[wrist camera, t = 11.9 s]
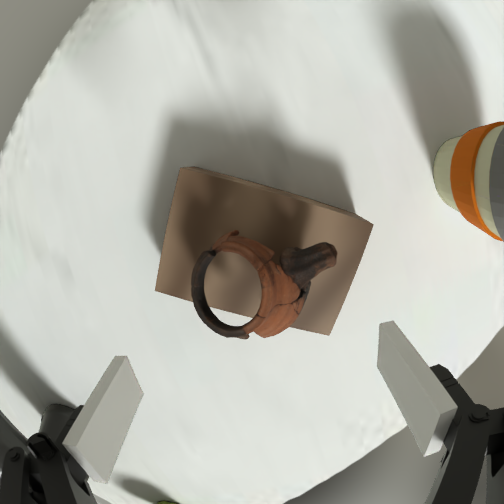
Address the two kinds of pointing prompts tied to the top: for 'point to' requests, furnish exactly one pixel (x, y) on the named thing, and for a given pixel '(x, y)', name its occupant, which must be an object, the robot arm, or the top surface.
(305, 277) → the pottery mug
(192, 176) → the walnut box
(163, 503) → the plant pot
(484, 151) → the reusable coffee cup
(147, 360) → the top surface
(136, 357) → the top surface
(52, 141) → the top surface
